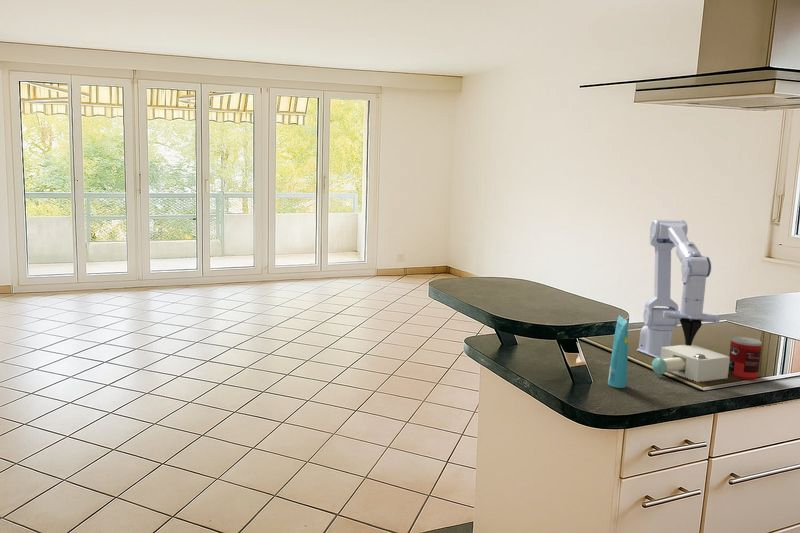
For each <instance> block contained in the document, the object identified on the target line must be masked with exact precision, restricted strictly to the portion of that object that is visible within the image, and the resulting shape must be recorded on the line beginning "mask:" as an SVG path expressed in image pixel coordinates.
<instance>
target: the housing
mask: <svg viewBox="0 0 800 533" xmlns="http://www.w3.org/2000/svg"><path fill="white" fill-rule="evenodd" d="M696 354H703V355H705V359H698V358H696ZM676 357H683V358H685V359H686V367H685V370H678V371H670V373H673V374H675V375H678V376H680V377H682V378H685V377H686V378H685V379H687V378H688V379H687V380H690V379H691V381H692V380H694V381H693V382H695V381H696V383H700V381H702V382H708V381H717V380H723V379H728V377H729V376H728V375H729V374H728V369H729V361H730V357H729V355H725V354H722V353H720V352H716V351H713V350H710V349H707V348H704V347H701V346H698V345H695V344H693V343H692V345H691V346H687V345H685V344H678V345H671V346H667V347H661V357H660V358H662V359H667V358H676Z"/></svg>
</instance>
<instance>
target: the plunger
mask: <svg viewBox="0 0 800 533" xmlns="http://www.w3.org/2000/svg"><path fill="white" fill-rule="evenodd" d="M696 358H698V359H705V355H703V354H696Z"/></svg>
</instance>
